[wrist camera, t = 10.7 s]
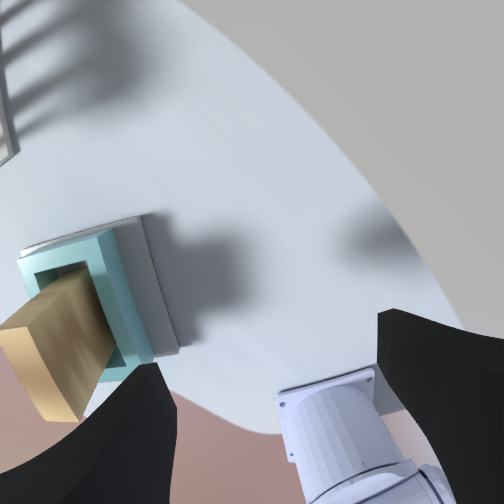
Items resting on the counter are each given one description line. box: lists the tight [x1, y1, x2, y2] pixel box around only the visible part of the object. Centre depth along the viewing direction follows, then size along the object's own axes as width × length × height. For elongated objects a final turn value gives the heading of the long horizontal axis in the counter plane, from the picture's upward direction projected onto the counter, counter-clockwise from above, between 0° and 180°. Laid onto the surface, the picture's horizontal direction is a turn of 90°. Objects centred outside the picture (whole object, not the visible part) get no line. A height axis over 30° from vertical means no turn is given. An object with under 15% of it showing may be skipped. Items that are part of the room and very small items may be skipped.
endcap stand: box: [17, 216, 180, 383], centre depth 17 cm, size 9×9×3 cm
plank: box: [0, 266, 117, 422], centre depth 14 cm, size 5×2×8 cm, turn 11°
